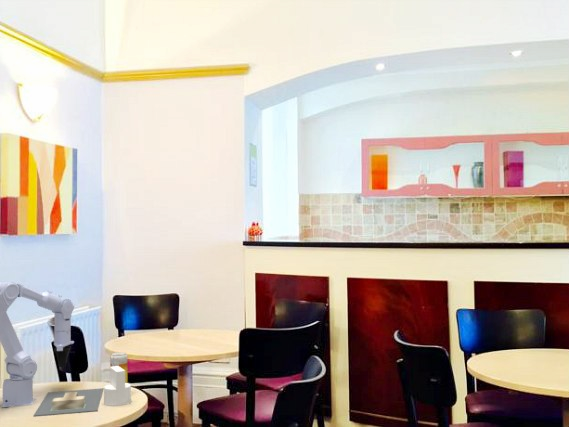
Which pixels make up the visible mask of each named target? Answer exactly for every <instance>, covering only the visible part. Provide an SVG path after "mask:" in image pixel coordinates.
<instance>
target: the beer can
mask: <svg viewBox="0 0 569 427" xmlns="http://www.w3.org/2000/svg"><path fill="white" fill-rule="evenodd" d="M109 358H110V359H109V362H110V363H109V364H110V366H109V368H110V367H113V366H119V367H121V368H122V369H124V370H125V383H129V382H128V378H129V377H128V354H127V352H125V351H120V352H119V351H117V352H112V353H111V356H110V357H109Z"/></svg>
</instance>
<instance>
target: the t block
mask: <svg viewBox="0 0 569 427" xmlns="http://www.w3.org/2000/svg"><path fill="white" fill-rule="evenodd" d="M84 405H85V396H78V392H69V393H65V395H64V397H63V398H54V399H53V401H52V410H65V409H77V408H84Z"/></svg>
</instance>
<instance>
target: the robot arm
mask: <svg viewBox="0 0 569 427" xmlns="http://www.w3.org/2000/svg"><path fill="white" fill-rule="evenodd" d="M21 297H22V298H25V299H28V300H31V301H33V302H36V304H37V306H38V307H40V308H43V309H45V310H48V311H51V312H52V313H53V314H54V327H53V328H54V330H53V331H54V332H53V333H54V342H53V345H54V348H53V352H54V353H55V356H56V359H57V362H58V366H59V368H66V366H67V363H68V356H69V353H70V351H71V349H72V346H71V345H73V344H74V343H75V341H74V340H72V339H71V336H72V335H71V330H72V329H71V328H72V327H71V326H72V325H71V320H72V319H71V318H72V314H73V312H74V309H75V305H74V304H73V301H72V300H71V299H67V298H63V297H62V295H55V294H54V293H53V291H51V290H50V291H49V290H47V291H42V292H40V291H37V290H35V289H33V288H30V287H28V286H26V285H23V284H21V283H16V282H13V281H11V282H9V281H8V282H5V281H4V282H3V281H0V345H1V347H2V348H3V351H4V352H5V354H6V357H5V359H4V362H5V371H6V373H7V374H8V375H9V378H5V379H4V380H3V383H2V405H1V407H2V408H10V407H19V406H22V407H23V406H31V405H33V403H34V402H35V400H36V397H33V395H34V394H33V393H34V392H33V391H34V390H33V386H34V384H33V382H34V381H33V380H34V379H33V378H34V376H35V375H36V373H37V371H38V365H37V362H36V361H35V360H33V358H32V357H31V355H30V354H29V353H27V352H26V351H25V350H24V348H23V346H22V344H21V342H20V340H19V337H18V335H17V332H16V331H15V328H14V326H13V325H12V322H11V319H10V317H9V315H8V313H7V311H8V309H9V308H10V307H11V305H12V304H13V303H14V302H15V301H16V300H17V298H21Z"/></svg>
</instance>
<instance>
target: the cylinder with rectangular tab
mask: <svg viewBox="0 0 569 427" xmlns="http://www.w3.org/2000/svg"><path fill="white" fill-rule="evenodd" d="M131 386H132V385H131V383H130V382H128V383H125V370H124V369H122V368H121V367H119V366H113V367H110V366H109V383H108V384H106V385H105V386H103V388H104V390H103V405H105V406H109V407H118V406H125V405H127V404H131V403H132V398H131V397H132V396H131V395H132V394H131V392H132V391H131V389H132V387H131ZM130 402H131V403H130Z"/></svg>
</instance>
